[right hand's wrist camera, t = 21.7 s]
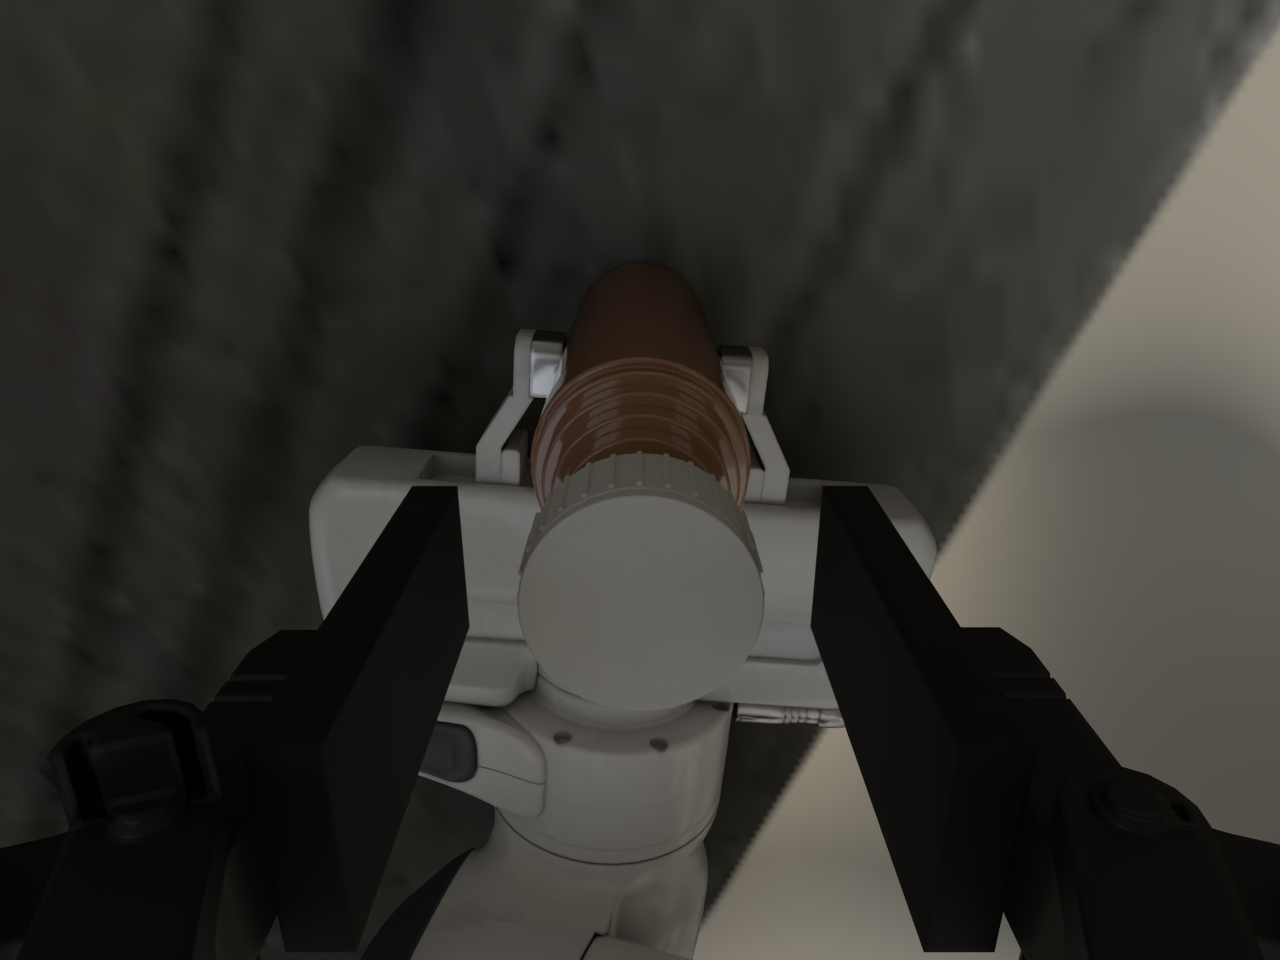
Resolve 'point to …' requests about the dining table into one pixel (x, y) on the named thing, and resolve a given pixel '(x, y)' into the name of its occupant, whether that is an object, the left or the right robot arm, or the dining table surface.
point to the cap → (640, 583)
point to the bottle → (640, 385)
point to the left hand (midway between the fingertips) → (641, 341)
